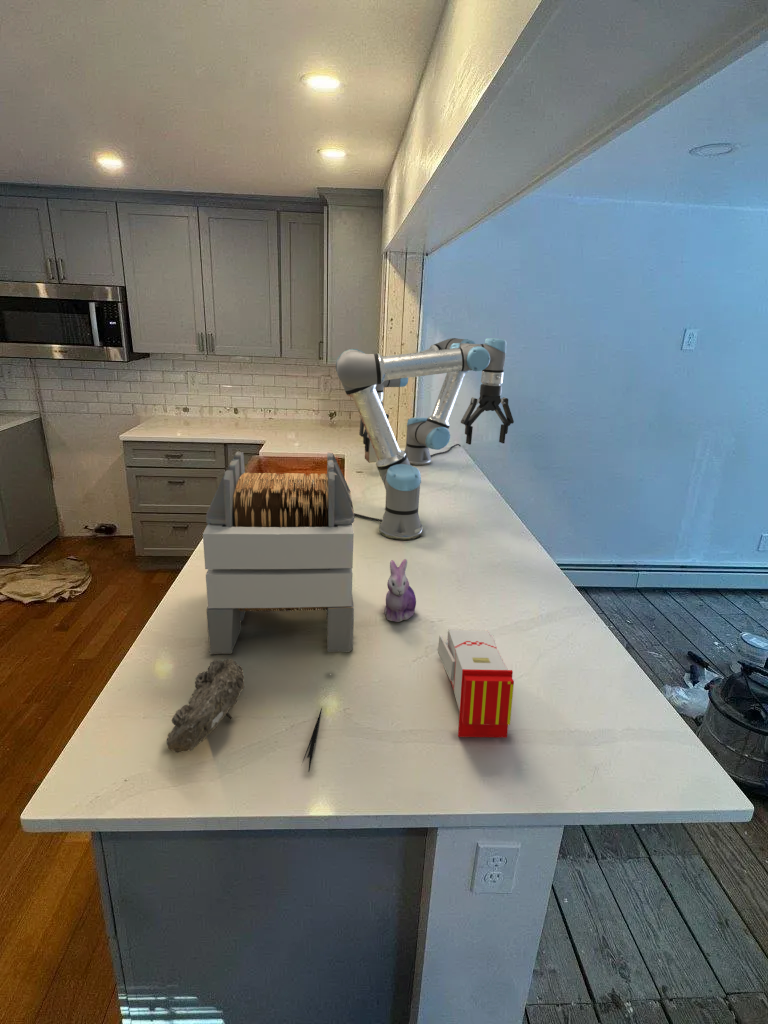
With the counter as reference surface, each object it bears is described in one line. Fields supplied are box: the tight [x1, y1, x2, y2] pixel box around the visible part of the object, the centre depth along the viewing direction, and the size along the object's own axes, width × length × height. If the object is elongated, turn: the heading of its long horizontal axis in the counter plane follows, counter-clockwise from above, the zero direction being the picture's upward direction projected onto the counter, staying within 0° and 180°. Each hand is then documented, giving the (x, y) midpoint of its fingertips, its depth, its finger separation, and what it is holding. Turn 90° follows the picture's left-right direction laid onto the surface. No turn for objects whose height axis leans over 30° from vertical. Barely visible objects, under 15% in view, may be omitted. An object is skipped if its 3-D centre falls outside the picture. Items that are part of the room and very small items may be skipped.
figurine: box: [384, 558, 417, 623], centre depth 145 cm, size 9×10×15 cm
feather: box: [301, 673, 332, 771], centre depth 108 cm, size 2×28×2 cm
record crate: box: [202, 451, 355, 655], centre depth 137 cm, size 34×33×41 cm
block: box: [364, 435, 378, 464], centre depth 264 cm, size 6×7×11 cm
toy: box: [437, 628, 515, 738], centre depth 117 cm, size 12×13×30 cm
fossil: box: [166, 658, 245, 754], centre depth 106 cm, size 22×10×15 cm
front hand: (485, 443), depth 207 cm, fingers open, 13 cm apart
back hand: (373, 450), depth 265 cm, fingers closed on block, 6 cm apart
